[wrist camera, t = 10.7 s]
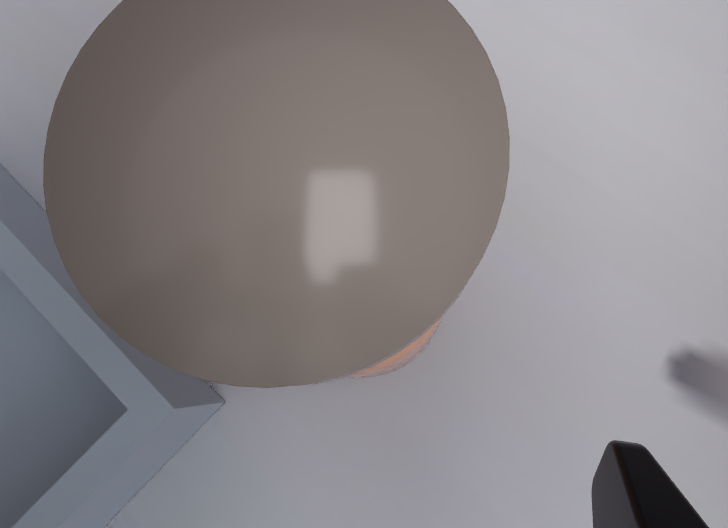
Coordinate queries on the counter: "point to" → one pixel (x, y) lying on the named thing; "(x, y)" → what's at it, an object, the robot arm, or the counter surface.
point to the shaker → (276, 181)
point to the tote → (75, 390)
